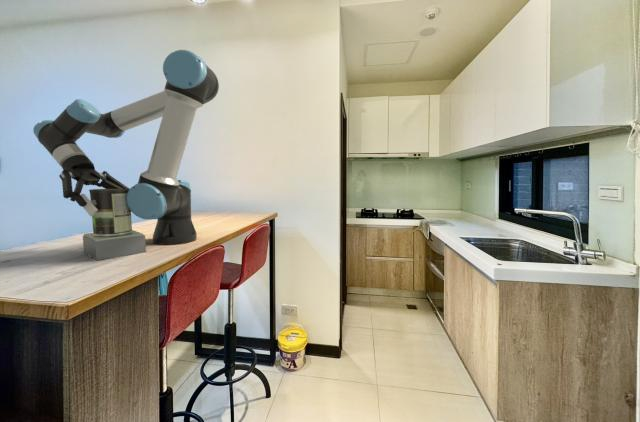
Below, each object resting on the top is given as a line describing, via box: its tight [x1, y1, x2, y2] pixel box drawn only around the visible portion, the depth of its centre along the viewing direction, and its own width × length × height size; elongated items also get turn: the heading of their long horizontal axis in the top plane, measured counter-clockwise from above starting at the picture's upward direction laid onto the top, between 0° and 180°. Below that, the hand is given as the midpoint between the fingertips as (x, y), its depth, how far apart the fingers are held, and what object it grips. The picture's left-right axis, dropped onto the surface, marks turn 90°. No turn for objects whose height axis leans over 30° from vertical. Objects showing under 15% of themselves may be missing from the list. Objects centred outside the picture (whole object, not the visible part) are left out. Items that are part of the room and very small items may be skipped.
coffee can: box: [88, 188, 133, 237], centre depth 90 cm, size 10×10×14 cm
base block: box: [82, 229, 147, 261], centre depth 91 cm, size 13×13×6 cm
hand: (115, 210), depth 90 cm, fingers open, 13 cm apart
